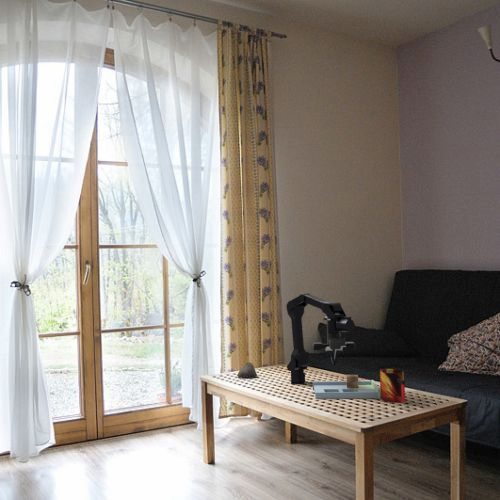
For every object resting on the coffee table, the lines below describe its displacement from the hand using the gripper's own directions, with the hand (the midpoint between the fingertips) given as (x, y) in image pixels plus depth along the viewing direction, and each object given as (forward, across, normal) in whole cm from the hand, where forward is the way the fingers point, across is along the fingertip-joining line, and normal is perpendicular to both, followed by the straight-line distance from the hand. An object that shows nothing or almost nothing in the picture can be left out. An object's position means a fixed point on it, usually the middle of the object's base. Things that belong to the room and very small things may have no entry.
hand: (334, 365), depth 267 cm
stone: (+12, -41, +35) cm, 55 cm away
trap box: (+12, +4, -4) cm, 13 cm away
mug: (+12, +24, -17) cm, 32 cm away
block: (+10, +8, 0) cm, 12 cm away
